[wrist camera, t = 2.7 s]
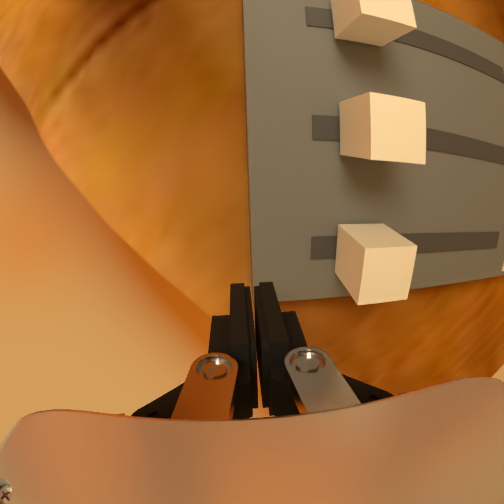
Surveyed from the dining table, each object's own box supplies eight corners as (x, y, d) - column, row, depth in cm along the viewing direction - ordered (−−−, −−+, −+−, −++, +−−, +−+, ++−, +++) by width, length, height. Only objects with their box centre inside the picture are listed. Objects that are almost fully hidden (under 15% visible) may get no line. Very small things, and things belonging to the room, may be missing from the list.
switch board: (241, -11, 13) (242, -33, 10) (511, 61, 14) (531, 60, 11) (251, 284, 21) (253, 306, 18) (503, 262, 21) (521, 274, 19)
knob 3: (338, 224, 16) (365, 248, 13) (383, 223, 16) (417, 246, 13) (334, 271, 17) (357, 305, 14) (377, 268, 18) (407, 299, 14)
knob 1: (330, -3, 11) (352, -33, 8) (375, 7, 11) (406, -18, 8) (334, 38, 12) (361, 13, 9) (381, 46, 13) (416, 28, 9)
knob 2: (339, 102, 14) (369, 91, 10) (386, 107, 14) (425, 102, 10) (339, 154, 15) (370, 159, 11) (387, 157, 15) (425, 164, 11)
